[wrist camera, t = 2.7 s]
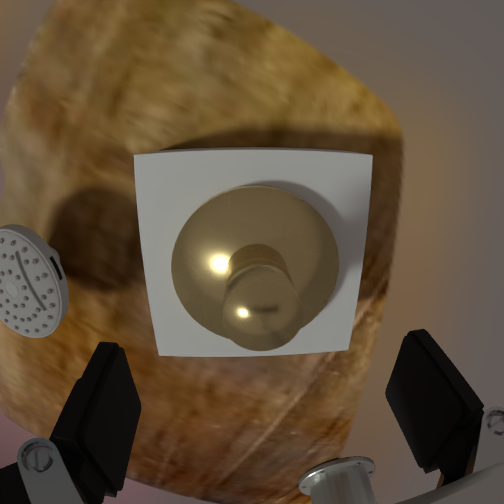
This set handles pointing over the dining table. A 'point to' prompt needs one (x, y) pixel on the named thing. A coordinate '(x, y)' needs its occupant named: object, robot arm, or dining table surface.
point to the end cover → (255, 265)
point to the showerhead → (30, 283)
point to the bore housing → (239, 174)
